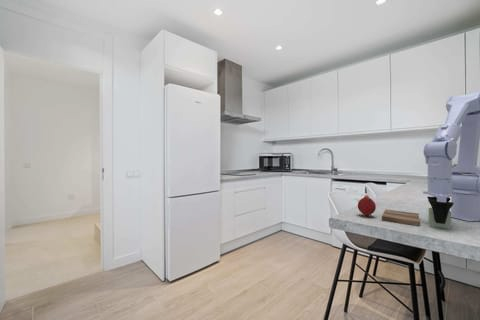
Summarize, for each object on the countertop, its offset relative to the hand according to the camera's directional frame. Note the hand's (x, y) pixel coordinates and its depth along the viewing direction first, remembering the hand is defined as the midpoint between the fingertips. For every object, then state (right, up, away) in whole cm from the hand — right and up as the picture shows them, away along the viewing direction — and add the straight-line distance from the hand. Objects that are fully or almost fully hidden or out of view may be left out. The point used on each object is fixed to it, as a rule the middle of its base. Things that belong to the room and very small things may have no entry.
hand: (439, 220), depth 69 cm
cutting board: (-7, -1, +7) cm, 10 cm away
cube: (0, -2, 0) cm, 2 cm away
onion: (-17, -2, +11) cm, 20 cm away
